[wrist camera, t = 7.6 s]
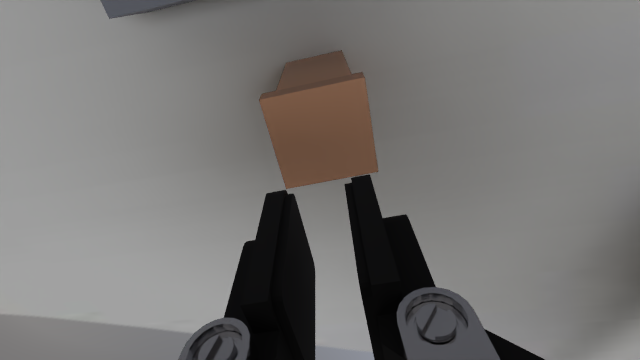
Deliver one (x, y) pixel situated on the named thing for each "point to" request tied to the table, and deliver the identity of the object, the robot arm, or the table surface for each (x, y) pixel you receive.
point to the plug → (320, 121)
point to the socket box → (137, 6)
